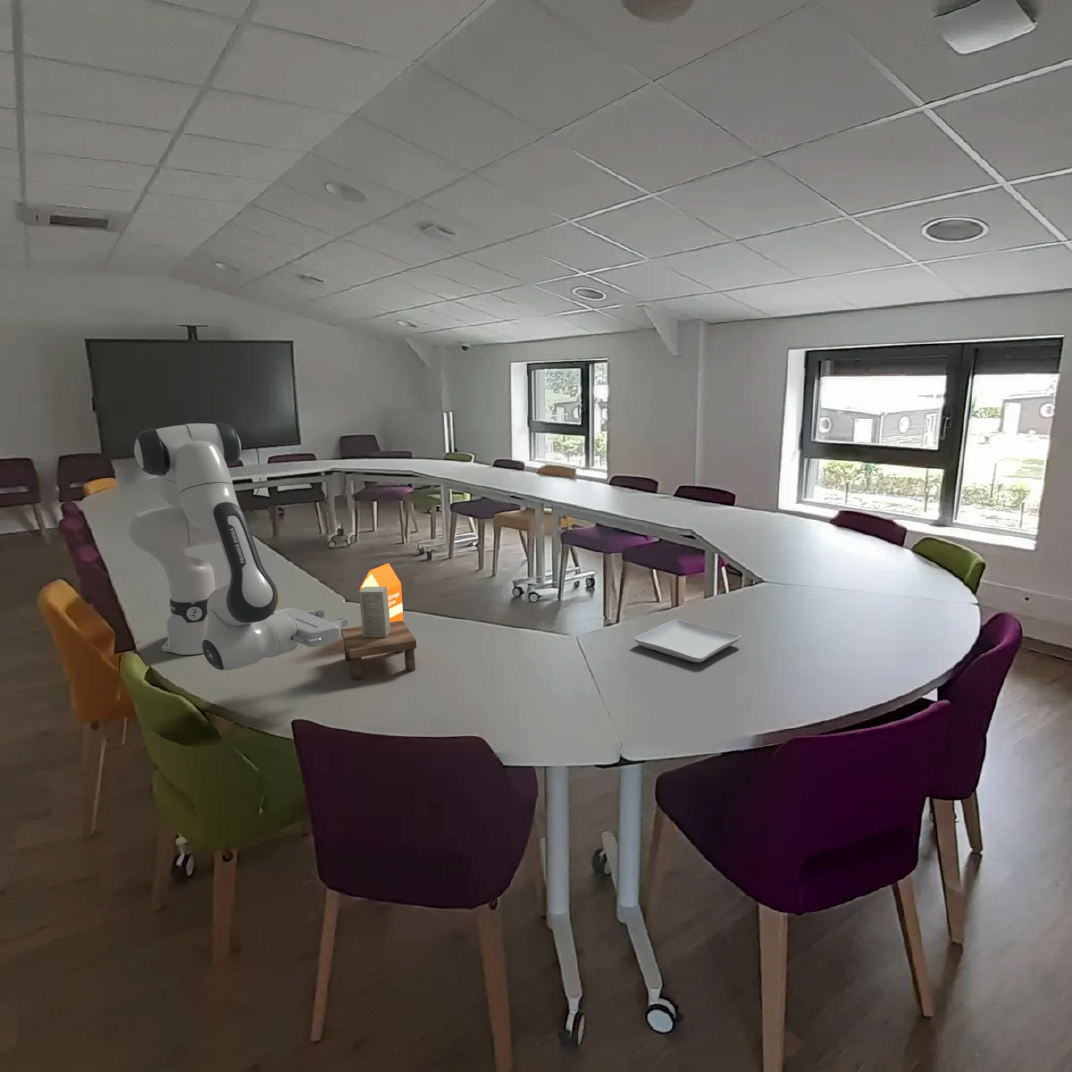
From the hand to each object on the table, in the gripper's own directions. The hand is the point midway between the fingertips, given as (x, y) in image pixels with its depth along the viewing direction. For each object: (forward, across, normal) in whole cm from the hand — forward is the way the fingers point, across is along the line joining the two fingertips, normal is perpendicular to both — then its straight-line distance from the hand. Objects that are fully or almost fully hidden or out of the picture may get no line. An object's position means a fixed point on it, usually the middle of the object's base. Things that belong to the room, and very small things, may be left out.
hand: (334, 617), depth 168 cm
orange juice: (+26, +16, +16) cm, 35 cm away
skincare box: (+12, 0, +8) cm, 15 cm away
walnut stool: (+12, 0, +16) cm, 20 cm away
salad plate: (+72, -55, +17) cm, 92 cm away
